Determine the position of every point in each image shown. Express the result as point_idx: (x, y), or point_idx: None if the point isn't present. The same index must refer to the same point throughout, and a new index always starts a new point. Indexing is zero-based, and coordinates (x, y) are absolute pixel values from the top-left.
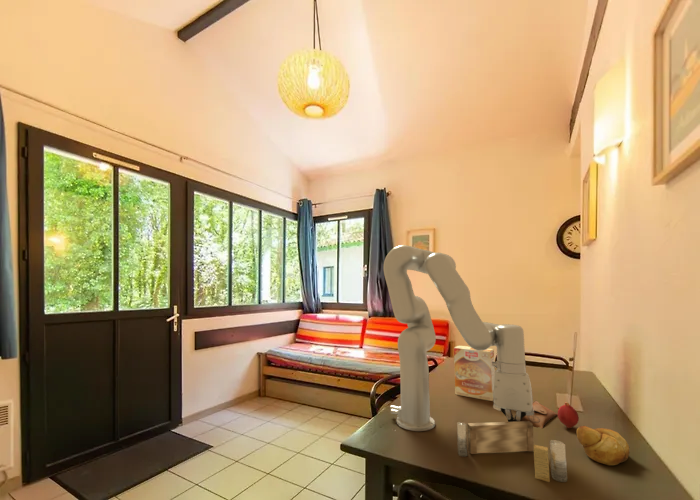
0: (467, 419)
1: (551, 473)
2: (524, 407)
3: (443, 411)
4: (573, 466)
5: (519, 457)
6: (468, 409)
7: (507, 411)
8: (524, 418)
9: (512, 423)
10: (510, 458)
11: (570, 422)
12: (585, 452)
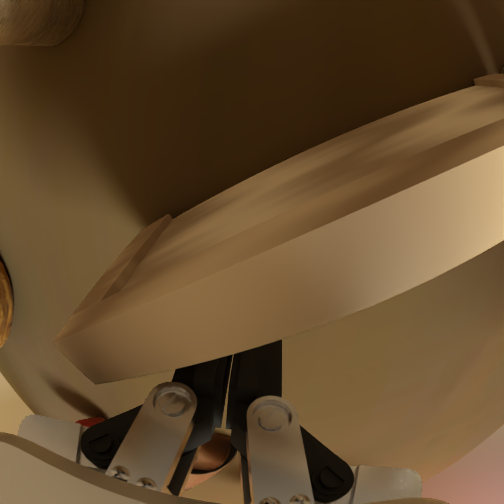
0: (408, 411)
1: (75, 2)
2: (11, 493)
3: (457, 417)
4: (16, 168)
5: (224, 127)
6: (377, 451)
7: (282, 475)
8: (208, 448)
9: (231, 304)
10: (282, 89)
11: (83, 425)
12: (3, 278)
